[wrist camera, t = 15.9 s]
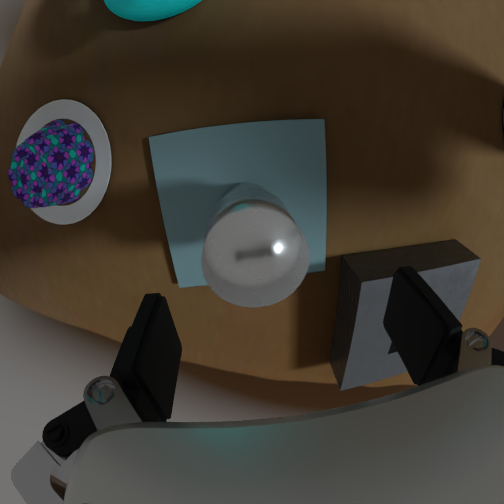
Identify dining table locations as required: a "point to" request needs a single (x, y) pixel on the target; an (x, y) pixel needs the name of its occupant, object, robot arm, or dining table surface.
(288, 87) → the dining table surface
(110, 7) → the donuts
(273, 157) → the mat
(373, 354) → the housing
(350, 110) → the dining table surface
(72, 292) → the dining table surface
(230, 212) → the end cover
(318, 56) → the dining table surface
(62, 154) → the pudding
